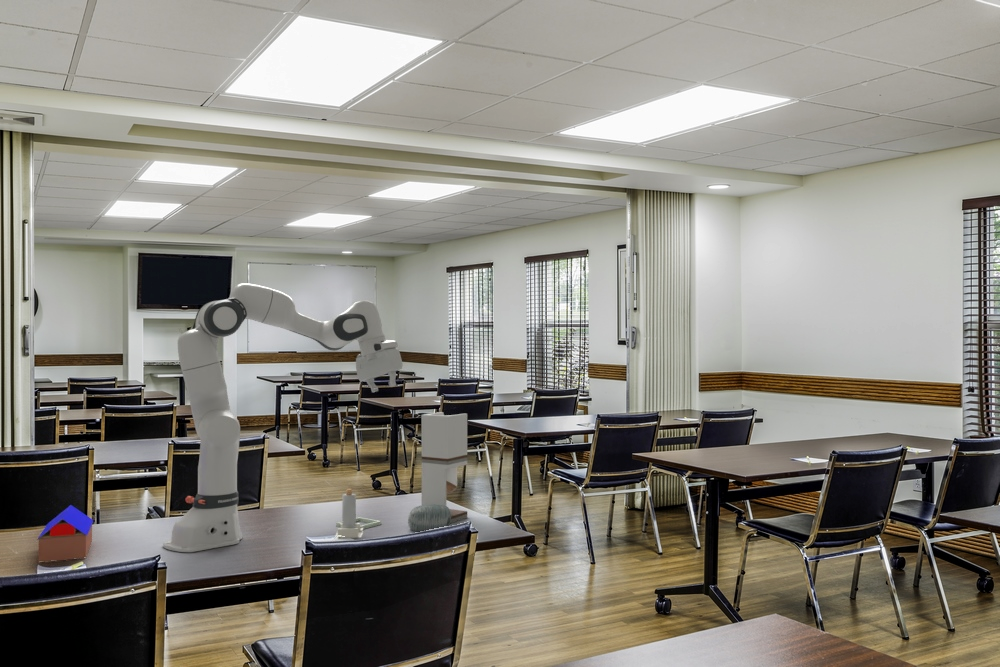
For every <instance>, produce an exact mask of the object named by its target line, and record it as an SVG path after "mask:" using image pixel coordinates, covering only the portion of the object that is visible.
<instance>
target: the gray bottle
mask: <svg viewBox="0 0 1000 667" xmlns="http://www.w3.org/2000/svg"><path fill="white" fill-rule="evenodd" d="M345 492H346V493H344V494H342V495H341V496H342V501H341V503H342V504H341V506H342V508H341V509H342V511H341V512H342V513H341V514H342V515H341V516H342V517H341V518H342V528H356V523H357V522H356V518H357V514H356V513H357V512H356V511H357V503H356V501H357V500H356V499H357V497H356V493H353V489H352V488H348V489H346V491H345Z"/></svg>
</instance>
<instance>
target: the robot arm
mask: <svg viewBox="0 0 1000 667" xmlns="http://www.w3.org/2000/svg"><path fill="white" fill-rule="evenodd" d="M245 320H251V321H255V322H258V323H261V324H265V325H268V326H272V327H276V328H281V329H284V330H287V331H289V332H291V333H294V334H297V335H299V336H300V335H301V336H303V337H306V338H309V339H311V340H313V341H315V342H317V343H318V344H319V345H320V346H322V347H323V348H325V349H326V350H328V351H339V350H341V349H343V348H344V347H345V346H347V345H349V344H351V343H352V342H354V341H357V342H358V346H359V350H360V353H359V354H357V356H356V358H355V369H356V375H357V376H356V377H357V380H359V382H365V381H366V384H367V385H368V387H370V390H371V393H375V392H376V393H377V392H379V388H378V385H376V384H375V379H376V378H378V377H381V376H384V375H387V374H388V376H389V381H388V386H389V387H391V388H393V387H395V386H397V383H396V378H397V373H396V372H397V371H400V370H402V369H403V360H402V356H401V353H400V350H399V349H398V342H397V340H390V339H386V335H385V334H384V332H383V328H382V327H383V326H382V325H383V324H382V320H381V316H380V314H379V311H378V308H377V305H376V304H375V303H374V302H372V301H370V300H359V301H355V302H352V303H351V305H350V306H349V307H348V308H347V309H346V310H345V311H343V312H342V313H340V314H338V315H336V316H335V317H333V318H332V319H330V320H325V321H320V320H318V319H315V318H312V317H309V316H307V315H303V314H301V313H299V312H298V311H297V310H296V305H295V302H294V300H293V299H292V297H291V296H289V295H288V294H286V293H284V292H282V291H280V290H278V289H277V290H276V289H273V288H271V287H267V286H263V285H259V284H255V283H254V284H253V283H244V282H241V283H238V284H237V285H236V286H235V287H233V289H231V292H230V294H229V297H228V298H226V299H220V300H213V301H209V302H207V303H205V304H204V305H202V306H201V307H200V308H199V309H198V310H197V313H196V314H195V318H194V322H193V324H192V328H191V329H188V330H186V331H184V332H183V333H182V334H180V335H179V336H178V339H177V353H178V360H179V365H180V369H181V372H182V377H183V381H184V385H185V387H186V391H187V395H188V400H189V406H190V409H191V415H192V419H193V423H194V428H195V432H196V435H197V436H198V438H199V440H200V446H199V455H198V456H199V460H198V465H197V493H196V495H195V497H194V496H191V495H187V496H186V497H185V502H186V504H192V507H191V508H190V509H189V510H188V511H187V512H185V514H184V515H183V516H181V517H180V518H179V520H178V521H176V522H175V523H174V524H173V528H172V530H171V539H170V540H167V541H164V542H162V547H163V548H164V549H166V550H169V551H173V552H177V553H178V552H180V553H194V552H200V551H204V550H210V549H216V548H221V547H227V546H232V545H237V544H239V543H240V540H242V539H243V533H242V530H241V526H240V522H239V521H240V520H239V512H238V511H239V510H238V507H239V491H238V459H239V449H240V441H241V440H240V439H241V438H240V437H241V425H240V421H239V420H238V418H237V417H236V415H234V414H232V411H231V406H230V402H229V395H228V388H227V387H228V386H227V383H226V379H225V375H224V371H223V368H222V365H221V361H220V357H219V353H218V351H217V350H218V348H217V347H218V341H219V340H220V338H226V337H229V336H231V335H233V334H235V333H236V332H237V331H238V330H239V329H240V327H241V326H242V324H243V322H244V321H245Z"/></svg>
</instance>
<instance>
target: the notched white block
mask: <svg viewBox="0 0 1000 667" xmlns="http://www.w3.org/2000/svg"><path fill="white" fill-rule="evenodd" d="M467 465H468V413H459V414H451V415H449V414H448V415H447V414H446V415H445V414H444V412H443V411H440V412H433V413H426V414H425V413H424V414H421V506H422V505H430V504H437V505H445V506H447V495H449V494H452V493H453V492H455V491H456V490H457V489H458V467H463V466H467ZM449 510H450V513H451V520H450V524H451V523H455V522H458V521H460V520H459V519H461V520H464V519H466V518H468V511H467V510H461V509H454V508H449ZM463 518H464V519H463ZM457 520H458V521H457Z"/></svg>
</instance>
